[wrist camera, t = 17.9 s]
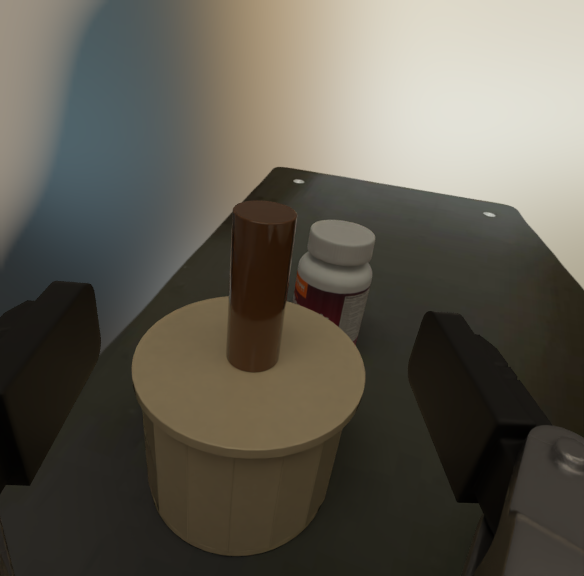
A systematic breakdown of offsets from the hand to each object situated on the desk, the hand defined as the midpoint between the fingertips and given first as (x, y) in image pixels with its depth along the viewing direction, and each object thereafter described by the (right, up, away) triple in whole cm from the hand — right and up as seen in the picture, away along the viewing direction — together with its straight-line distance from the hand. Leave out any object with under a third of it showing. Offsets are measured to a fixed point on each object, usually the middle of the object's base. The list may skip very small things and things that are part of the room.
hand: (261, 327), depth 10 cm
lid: (-1, -3, +12) cm, 13 cm away
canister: (-2, -10, +16) cm, 20 cm away
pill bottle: (+3, -4, +28) cm, 29 cm away
